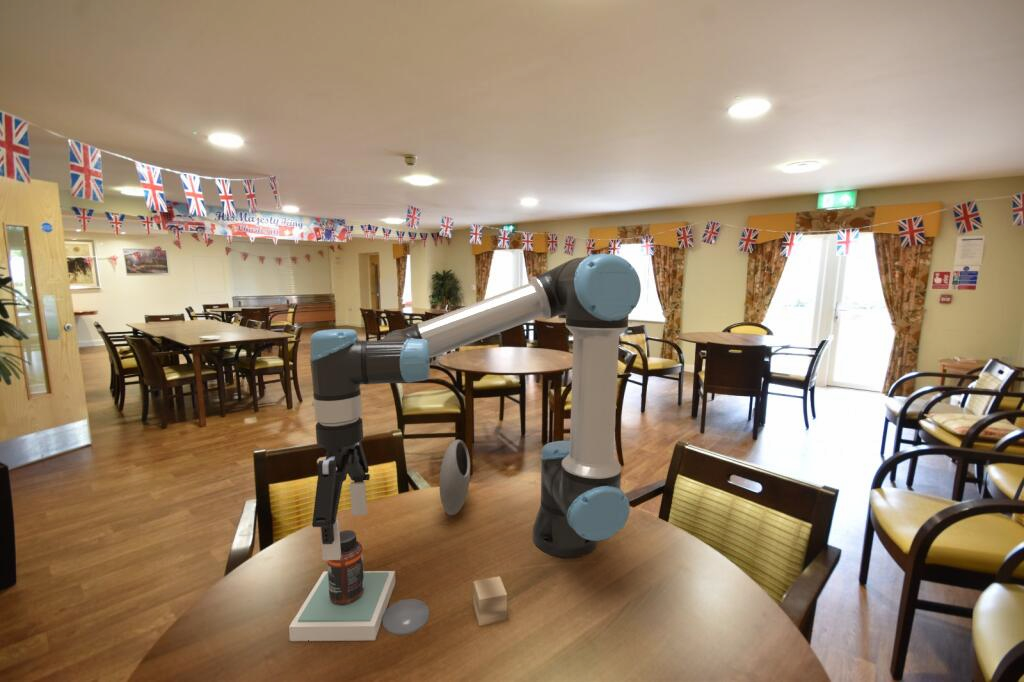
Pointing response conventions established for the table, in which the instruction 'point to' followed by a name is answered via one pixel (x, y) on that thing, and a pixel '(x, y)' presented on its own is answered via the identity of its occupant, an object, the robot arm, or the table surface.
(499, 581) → the oak block
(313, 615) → the podium
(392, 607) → the coaster
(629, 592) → the table surface
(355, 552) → the supplement bottle
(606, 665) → the table surface
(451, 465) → the grey hollow oval piece
